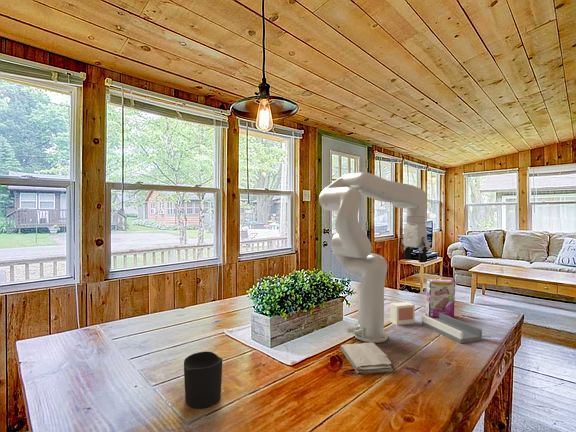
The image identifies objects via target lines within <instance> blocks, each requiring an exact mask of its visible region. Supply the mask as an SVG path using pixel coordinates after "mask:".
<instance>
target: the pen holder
mask: <svg viewBox="0 0 576 432" xmlns="http://www.w3.org/2000/svg"><path fill="white" fill-rule="evenodd" d="M183 374H184V375H183V376H184V378H183V381H184V396H185V397H184V399H185V400H184V401H185V403H186V404H187V406H189V407H191V408H193V409H205V408H209V407H211V406H214V405H215V404H216V403H218V401H219V400H220V398H221V395H222V381H223V380H222V379H223V358H222V357H219V356H218V354H216V353H215V352H212V351H207V350H206V351H198V352H195V353H192V354H190V355H188V356H187V357H186V358H184V361H183Z"/></svg>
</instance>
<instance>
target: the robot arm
mask: <svg viewBox="0 0 576 432" xmlns="http://www.w3.org/2000/svg"><path fill="white" fill-rule="evenodd" d="M362 196H363V197H367V198H370V199H373V200H375V201H378V202H381V203H382V202H383V203H391V205H392V206H393V207H394V208H397V209H406V223H405V225H404V229H403V238H402V239H401V243H402V247H403V248H402V249H403V259H404V260H411V259H412V248H415V249H416V248H417V249H418V251H419V252H418V263H422V264H423V263H427V254H428V251H429V250H430V247H431V245H432V243H431V242H430V241H429V240H428V234H427V233H428V231H427V225H426V219H427V218H426V215H427V214H426V213H427V202H428V196H427V193H426V192H425V191H424V190H423V189H422V188H420V187H418V186H415V185H412V184H407V183H403V182H402V183H401V182H397V181H395V180H394V181H393V180H387V179H385V178H383V177H380V176H377V175H375V174H373V173H370V172H367V171H356V172H352V173H351V172H350V173H345V174H343V175H342V176H340V177H339V178H337V179H336V180H334V181H333V182H332V183H330V184H329V185H326V187H324V188H323V189H322V191H321V192H320V194H319V197H318V202H319V206H320V207H321V208H322V209H323V210H325V211H329V212H331V211H333V212H337V215H336V219H335V223H334V228H335V230H336V231H335V234H333V236H332V238H331V241H330V247H331V250H332V253H333V255H334V256H335V258H336V259H337V261H338V262H339V264H340V265H341V267H342V268H343V269H344V271H345V272H346V273H348V275H349V274H350V275H353V276H357V277H361V278H362V280H361V282H360V284H359V285H358V290H357V293H358V294H357V295H358V296H357V300H358V301H357V322H356V323H355V325H354V326H353V327H349V326H348V327H346V328H345V330H346V331H345V332H346V333H347V334H351V333H352V334H353V336H355V337H354V338H355V339H357V340H359V341H362V342H364V343H374V344H377V343H378V344H379V343H383V342H386V341H387V340H388V339H389V337H388V336H389V335H388V334H387V332H385V331H384V326H385V325H384V323H385V322H384V321H385V284H386V278H387V277H386V276H387V272H388V263H387V260H386V259H385V257H383V256H382V255H380V254H377V253H372V250H373V246H372V243H371V240H370V239H369V238H368V235H367V234H366V233H365V230H364V228H363V227H362V225H361V224H360V222H359V216H358V215H359V210H360V208H361V207H360V206H361V202H362Z"/></svg>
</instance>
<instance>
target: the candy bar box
mask: <svg viewBox="0 0 576 432" xmlns="http://www.w3.org/2000/svg"><path fill="white" fill-rule="evenodd" d="M425 292H426V293H425V296H426V297H425V315H426V316H427V317H429V318H439V313H442V314H444V315H447V316H449V317H452V318H454V319H455V300H456V299H455V298H456V282H455V281H453V280H451V279H434V278H433V279H432V278H431V279H429V278H427V279H426V291H425Z"/></svg>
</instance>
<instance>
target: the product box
mask: <svg viewBox="0 0 576 432" xmlns="http://www.w3.org/2000/svg"><path fill="white" fill-rule="evenodd" d="M415 306H416V305H415V304H414V303H411V302H410V301H400V302H392V303H390V309H389V310H390V312H389V313H390V314H389V322H390V323H392V324H394V325H395V326H402V325H410V324H415V320H416V319H415V312H416V311H415V309H416V307H415Z"/></svg>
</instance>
